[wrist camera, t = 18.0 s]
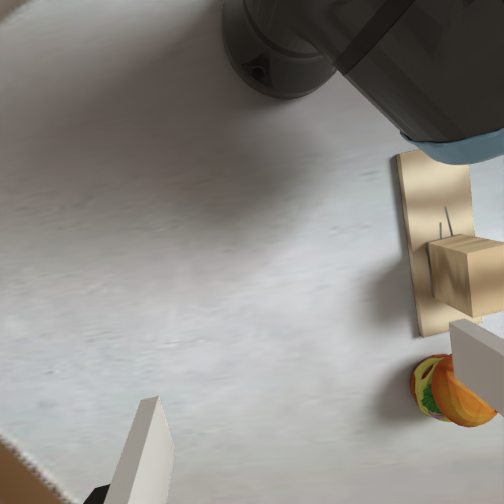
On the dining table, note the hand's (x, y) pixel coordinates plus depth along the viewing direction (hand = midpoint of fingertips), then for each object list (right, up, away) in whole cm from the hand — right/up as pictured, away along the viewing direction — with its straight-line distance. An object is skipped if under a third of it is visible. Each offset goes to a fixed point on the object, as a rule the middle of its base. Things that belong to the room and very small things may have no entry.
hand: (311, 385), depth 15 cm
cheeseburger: (+25, -13, +38) cm, 47 cm away
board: (+23, +7, +33) cm, 41 cm away
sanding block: (+24, +4, +33) cm, 41 cm away
